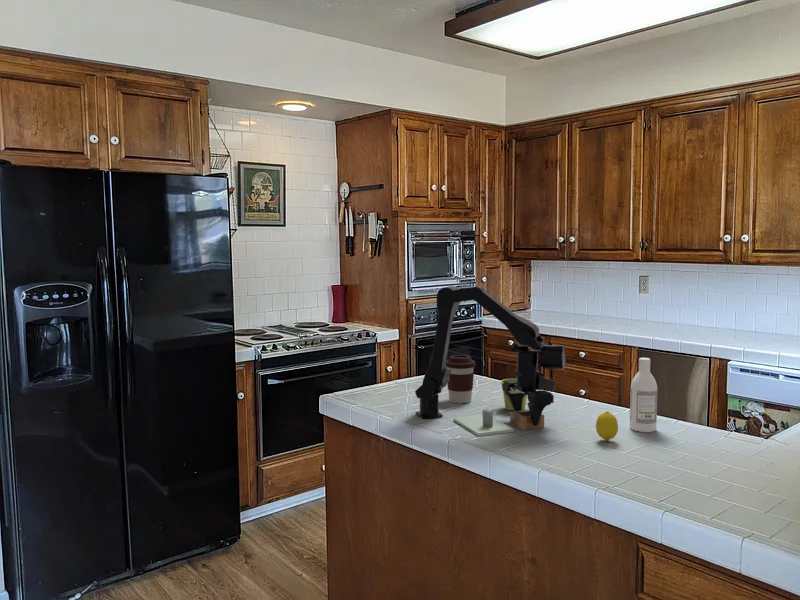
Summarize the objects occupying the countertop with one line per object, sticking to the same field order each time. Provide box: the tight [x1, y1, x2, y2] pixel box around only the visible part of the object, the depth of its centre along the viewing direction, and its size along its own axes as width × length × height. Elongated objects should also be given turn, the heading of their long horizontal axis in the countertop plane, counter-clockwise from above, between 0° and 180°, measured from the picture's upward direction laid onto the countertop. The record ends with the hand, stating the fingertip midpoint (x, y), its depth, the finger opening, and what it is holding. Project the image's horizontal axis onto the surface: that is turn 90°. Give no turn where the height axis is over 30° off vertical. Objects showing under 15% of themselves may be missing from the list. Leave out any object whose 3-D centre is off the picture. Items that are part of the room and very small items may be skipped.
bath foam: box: [629, 357, 658, 433], centre depth 176 cm, size 7×7×20 cm
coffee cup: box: [446, 354, 476, 405], centre depth 209 cm, size 10×10×15 cm
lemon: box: [595, 411, 619, 442], centre depth 167 cm, size 6×6×8 cm
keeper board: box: [453, 408, 515, 437], centre depth 181 cm, size 16×11×5 cm
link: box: [509, 409, 545, 431], centre depth 182 cm, size 7×7×4 cm
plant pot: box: [500, 378, 528, 411], centre depth 200 cm, size 9×9×9 cm
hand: (526, 421), depth 182 cm, fingers open, 9 cm apart
